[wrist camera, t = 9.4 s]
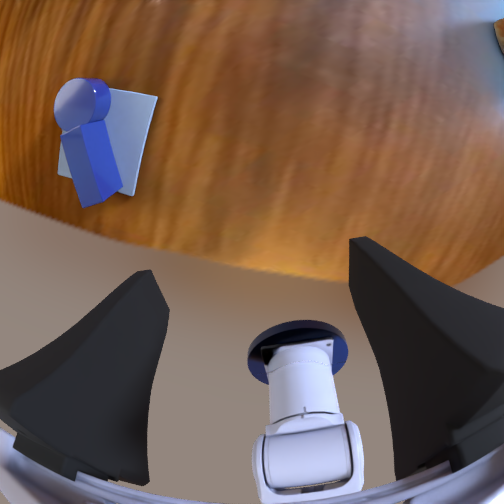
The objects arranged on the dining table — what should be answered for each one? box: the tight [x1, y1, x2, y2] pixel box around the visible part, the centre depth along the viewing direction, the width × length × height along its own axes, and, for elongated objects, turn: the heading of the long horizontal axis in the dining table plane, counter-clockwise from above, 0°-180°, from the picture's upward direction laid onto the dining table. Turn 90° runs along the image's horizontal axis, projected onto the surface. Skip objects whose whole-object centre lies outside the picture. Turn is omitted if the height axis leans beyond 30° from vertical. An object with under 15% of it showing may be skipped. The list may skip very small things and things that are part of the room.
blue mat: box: [58, 88, 158, 196], centre depth 15 cm, size 7×7×1 cm
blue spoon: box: [54, 78, 123, 208], centre depth 14 cm, size 8×4×3 cm, turn 10°
